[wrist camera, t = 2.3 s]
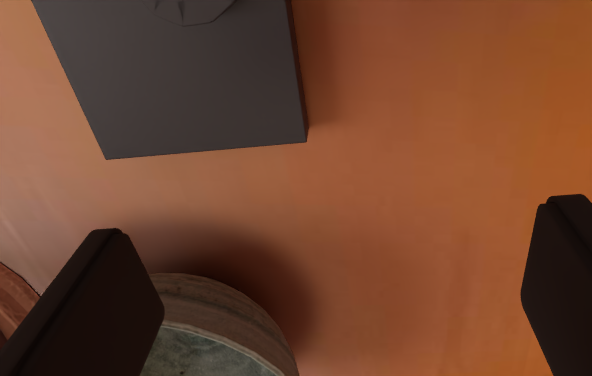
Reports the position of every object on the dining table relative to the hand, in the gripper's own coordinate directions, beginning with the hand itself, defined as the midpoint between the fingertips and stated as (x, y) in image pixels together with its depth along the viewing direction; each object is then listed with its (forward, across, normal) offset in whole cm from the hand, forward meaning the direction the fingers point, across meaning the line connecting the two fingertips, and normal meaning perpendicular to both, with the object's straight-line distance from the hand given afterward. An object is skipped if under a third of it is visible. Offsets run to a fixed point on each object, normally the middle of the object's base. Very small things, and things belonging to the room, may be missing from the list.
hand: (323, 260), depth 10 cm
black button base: (+16, +8, -2) cm, 19 cm away
